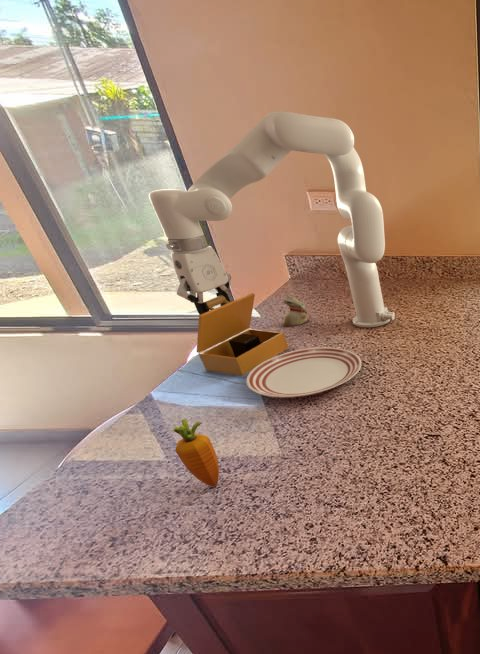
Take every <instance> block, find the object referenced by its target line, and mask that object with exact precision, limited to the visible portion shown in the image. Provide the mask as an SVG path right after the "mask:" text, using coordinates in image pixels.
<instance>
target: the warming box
mask: <svg viewBox="0 0 480 654" xmlns="http://www.w3.org/2000/svg"><path fill="white" fill-rule="evenodd" d="M250 328H251V327H250ZM250 328H249V329H247V330H245V331H243V332H241V333H239V334H237V335H235V336H233V337H231V338H229V339H227V340H225V341H223V342H220V343H218V344H216V345H214V346H212V347H210V348H208V349H206V350H204V351H202V352H200V353H198V356H199V359H200V361H201V362H202V364H203V367H204V369H205V371H207V372H216V373H223V374H230V375H236V376H242V377H243V376H245V375H246V374H249V373H250V372H251V370H253V369H254V368H255V367H256V366H258V365H259V364H261V363H262V362H264V361H266V360H268V359H270V358H273V357H275V356H278V355H280V354H282V352H284V351H286V350H287V349H289V345H288V342H287V338H286V335H285V333H284V332H282V331H274V330H266V329H258V328H253V329H250ZM241 334H250V335H258V337H259V340H260V343H261V344H260V345H258V346H256V347H254V348H253V349H251V350H249V351H247V352H245V353H244V354H242V355H240V356H238V357H237V358H235V355H234V353H233V350H232V348H231V345H230V343H229V340H231V339H233V338H235V337H237V336H239V335H241Z"/></svg>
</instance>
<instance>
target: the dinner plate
mask: <svg viewBox="0 0 480 654" xmlns="http://www.w3.org/2000/svg"><path fill="white" fill-rule="evenodd" d="M361 368H362V360H361V358H360V357H359V355H358V354H357V353H355V352H353V351H351V350H348V349H344V348H339V347H330V346H329V347H328V346H326V347H325V346H323V347H321V346H319V347H308V348H302V349H295V350H292V351H288V352H284V353H280V354H277V355H276V356H274V357H273V358H270V359H268V360H266V361H264V362H262V363H261V364H259V365H258V366H256V367H255V368H254V369H253V370H251V371H250V372H248V373H247V376H246V379H245V383H246V386H247V387H248V389H249V390H250V391H252V392H253V393H255V394H257V395H260V396H265V397H270V398H277V399H278V398H279V399H281V398H282V399H291V398H302V397H309V396H313V395H317V394H320V393H324V392H326V391H330V390H332V389H334V388H336V387H339V386H340V385H341V386H342V385H343V384H345V383H347V382H348V381H350V380H352V378H354V377H355V376H356V375H357V374H358V373H359V371H361Z"/></svg>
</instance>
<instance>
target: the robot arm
mask: <svg viewBox="0 0 480 654" xmlns="http://www.w3.org/2000/svg"><path fill="white" fill-rule="evenodd" d="M354 146H355V135H354V133H353V131H352V130H351V128H350V126H349V125H348V124H347V123H346V122H344V121H343V120H340V119H338V118H332V117H326V116H317V115H309V114H303V113H299V112H298V113H297V112H291V111H285V110H283V111H280V110H279V111H270V112H269V113H268V112H267V113H266V114H265V116H263V117H262V118H261V119H260V120H259V121H258V122H257V123H256V124H255V125H254V126H253V127H252V128H251V129H250V130H249V131H248V132H247V133H246V134H245V135H244V137H243V138H241V139H240V140H239V141H238V142H237V143H236V144H235V145H234V146H233V147H232V148H231V149H230V150H228V151H227V152H225V153H224V155H223V156H222V157H220V158H219V159H218V160H217V161H215V162H214V163H213V164H212V165H210V167H209V168H207V169H206V170H205V171H204V172H203V173H202V174H201V175H200V176H199V177H198V178H197V179H196V180H195V181H194V182H193V183H192V185H191V186H190V187H189V188H188V189H187V191H185V190H182V189H177V188H176V189H175V188H166V189H164V188H163V189H156V190H153V191H150V193H149V194H148V199H149V201H150V204H151V206H152V209H153V210H154V212H155V215H156V217H157V220H158V222H159V224H160V227H161V229H162V231H163V234H164V236H165V238H166V240H167V242H168V243H166V244H165V247H166V249H168V250H171V252H170V255H171V260H172V265H173V267H174V271H175V275H176V276H177V279H178V282H179V285H178V287H177V291H176V295H177V296H179V297H181V298H183V299H184V300H187V301H189V302H190V303H191V304H192V303H193V304H194V307H195V309H196V311H197V313H198V316H199V315H201V314H203V313H206V312H208V311H211V310H209V308H208V305H207V303H206V302H205V301H204V293H205V292H208V291H211V290H215V291H216V293H215V294H216V297H217V296H220V295H223V296H224V297H225V298H226V300H227V301H229V302H231V299H230V297H229V292H230V290H229V288H230V284H231V283H230V282H231V279H232V275H231V274H230V273H228V272H226V269H225V268H224V266H223V264H222V261H221V260H220V258H219V255H218V254H217V252H216V251H215V249H214V248H213V247H212V245H209V244H208V241H207V240H206V239H207V238H206V236H205V234H204V232H203V228H202V226H201V224H200V221H201V222H205V221H206V222H220V221H224V220H227V219H228V218H230V216H231V215H232V213H233V204H232V202H231V199H232V198H233V197H234V196H235V195H237V193H239V192H240V191H241V190H242V189H243V188H245V187H247V186H248V185H251V184H254V183H257V182H260V181H262V180H264V179H265V178H266V177H268V176H269V175H270V174H271V172H273V170H274V169H275V168H276V167H277V166H278V165H279V164H280V163H281V162H282V161H283V159H285V158H286V157H287V156H288V155H289V153H291V152H292V151H293V152H301V153H307V154H309V153H310V154H321V155H324V156H325V158H326V159H327V161H328V162H329V164H330V166H331V170H332V174H333V181H334V190H335V199H336V207H337V211H338V214H339V215H340V216H341V217H342V218H343V219H345V220H346V221H349V222H351V225H347V226H344V227H343V228H342V229H340V231H339V233H338V235H337V245H338V250H339V253H340V255H341V258H342V261H343V263H344V267H345V272H346V276H347V280H348V284H349V289H350V293H351V298H352V303H353V307H354V311H355V316H354V317H353V318H352V324H353V325H354V326H356V327H358V328H369V329H370V328H377V327H381V326H384V325H386V324H388V323H389V322H391V321H395V318H396V315H395V314H396V313H395V312H394V311H389V310H388V306H385V304H384V298H383V293H382V287H381V282H380V276H379V272H378V271H379V270H378V266H377V263H378V262H379V261H381V260H382V258H383V257H384V254H385V250H386V237H385V224H384V223H385V222H384V220H385V219H384V212H383V208H382V205H381V203H380V201H379V199H378V198H377V197H376V196H375V195H374V194H372V193H371V192H369V191H367V186H366V179H365V178H366V177H365V171H364V166H363V163H362V160H361V158H360V155H359V154H358V151H357V150H356V149H355V147H354ZM225 304H226V303H222V304H219V306H223V305H225Z"/></svg>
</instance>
